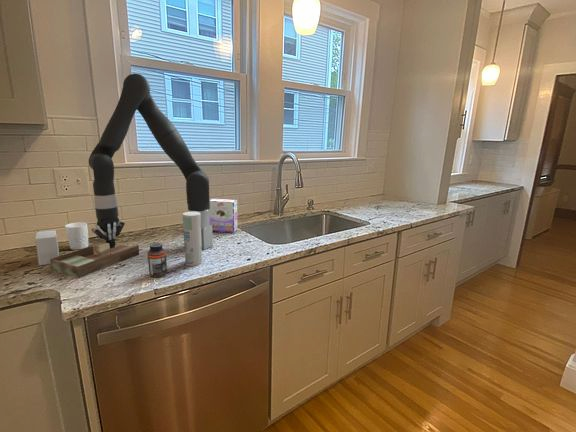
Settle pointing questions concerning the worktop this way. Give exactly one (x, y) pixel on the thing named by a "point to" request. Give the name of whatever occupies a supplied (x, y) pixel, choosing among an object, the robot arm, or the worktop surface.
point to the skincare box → (46, 246)
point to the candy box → (223, 215)
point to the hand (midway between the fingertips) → (111, 247)
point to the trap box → (91, 260)
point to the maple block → (101, 249)
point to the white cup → (77, 235)
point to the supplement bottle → (157, 260)
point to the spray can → (192, 238)
